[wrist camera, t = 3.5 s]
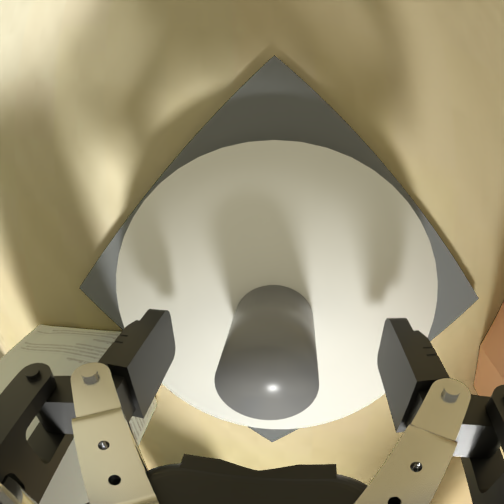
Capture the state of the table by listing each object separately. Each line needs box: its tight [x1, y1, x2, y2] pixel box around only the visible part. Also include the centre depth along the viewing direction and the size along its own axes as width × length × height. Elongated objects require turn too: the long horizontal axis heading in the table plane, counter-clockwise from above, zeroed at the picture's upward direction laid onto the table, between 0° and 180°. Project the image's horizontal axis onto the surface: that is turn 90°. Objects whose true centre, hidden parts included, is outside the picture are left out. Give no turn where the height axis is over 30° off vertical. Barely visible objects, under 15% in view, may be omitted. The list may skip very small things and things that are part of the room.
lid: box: [116, 140, 438, 429], centre depth 12 cm, size 14×14×6 cm
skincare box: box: [0, 325, 157, 504], centre depth 11 cm, size 8×6×15 cm
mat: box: [80, 55, 479, 442], centre depth 15 cm, size 15×15×1 cm
